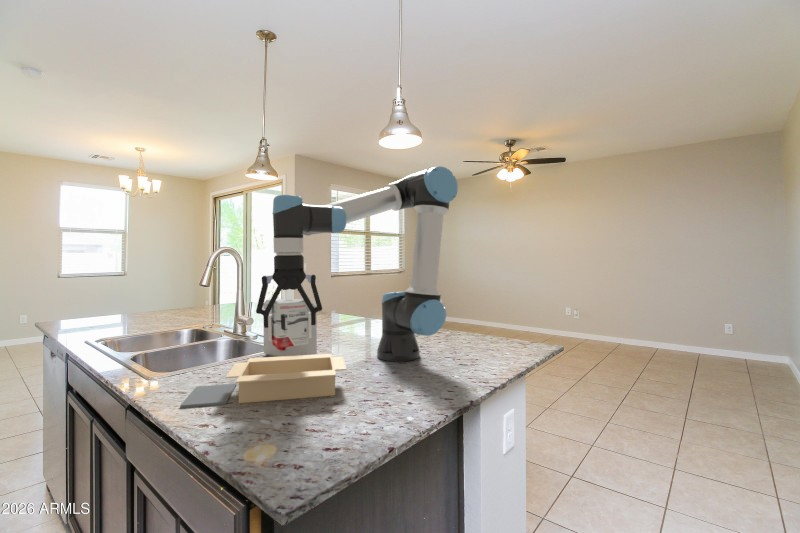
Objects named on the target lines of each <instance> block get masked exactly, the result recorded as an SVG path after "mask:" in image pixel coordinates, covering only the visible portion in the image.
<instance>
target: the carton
mask: <svg viewBox="0 0 800 533" xmlns="http://www.w3.org/2000/svg"><path fill="white" fill-rule="evenodd" d="M332 354H333V353H317V354H315V355H298V356H280V357H273V356H268V357H267V356H266V357H265V356H264V357H263V356H262V357H250V358H248V359H247V361H246V362H234V364H233V366H232V367H231V369H230V370H229V371H228V373H227V375H226V376H225V379H235V378H237V379H236V381H235V384H238V404H247V403H255V402H256V403H257V402H259V403H260V402H268V401H269V402H270V401H282V400H283V401H284V400H294V399H306V398H307V399H308V398H317V397H318V398H320V397H330V396H336V376H337V371H338V372H339V371H347V366H346V362H345V359H344V357H343V356H333V355H332Z"/></svg>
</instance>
